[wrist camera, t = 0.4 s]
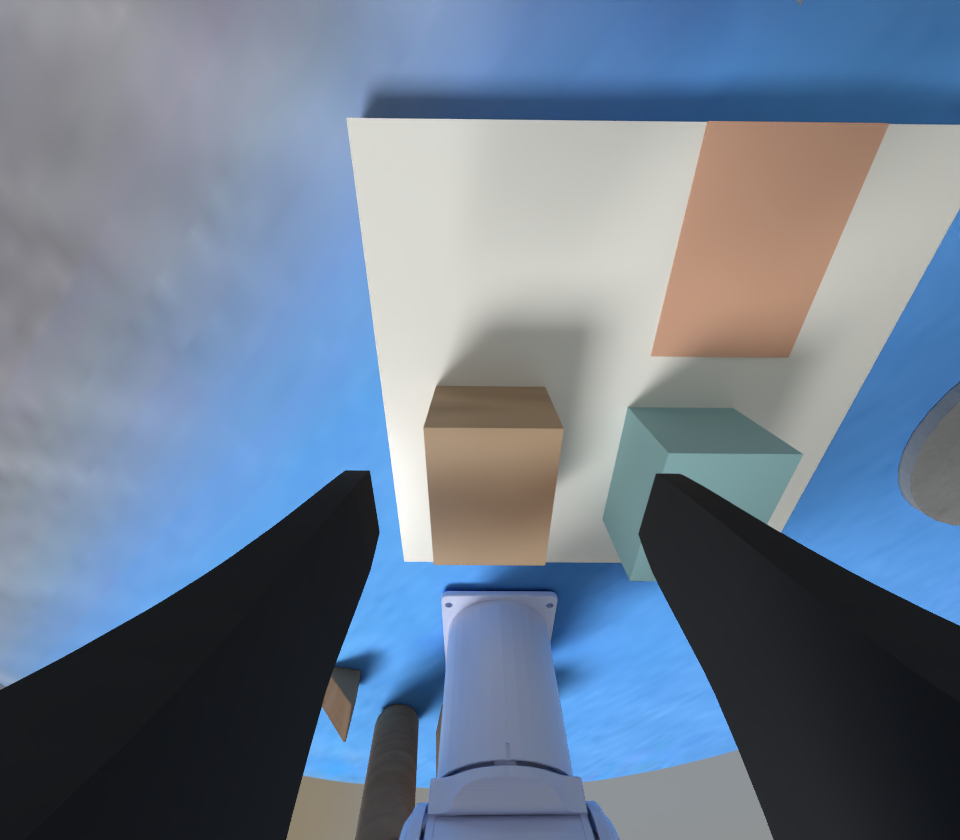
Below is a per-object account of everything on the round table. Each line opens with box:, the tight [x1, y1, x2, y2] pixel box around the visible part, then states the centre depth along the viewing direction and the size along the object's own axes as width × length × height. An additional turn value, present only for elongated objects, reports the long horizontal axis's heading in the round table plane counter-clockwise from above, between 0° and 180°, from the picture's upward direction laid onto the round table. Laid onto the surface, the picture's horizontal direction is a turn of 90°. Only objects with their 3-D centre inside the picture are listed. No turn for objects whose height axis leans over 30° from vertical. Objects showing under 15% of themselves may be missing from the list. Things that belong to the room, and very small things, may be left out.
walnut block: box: [423, 386, 564, 566], centre depth 16 cm, size 7×5×4 cm
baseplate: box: [347, 118, 960, 563], centre depth 17 cm, size 21×22×1 cm
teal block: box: [602, 407, 803, 581], centre depth 16 cm, size 7×5×4 cm
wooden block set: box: [322, 667, 443, 840], centre depth 27 cm, size 18×9×10 cm, turn 76°
